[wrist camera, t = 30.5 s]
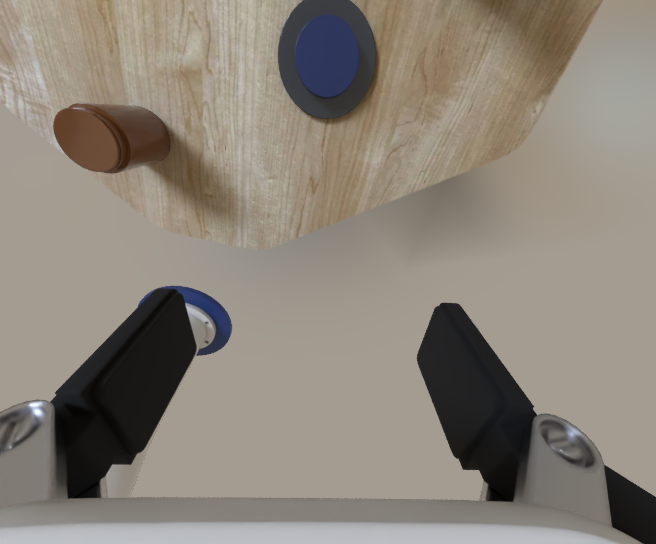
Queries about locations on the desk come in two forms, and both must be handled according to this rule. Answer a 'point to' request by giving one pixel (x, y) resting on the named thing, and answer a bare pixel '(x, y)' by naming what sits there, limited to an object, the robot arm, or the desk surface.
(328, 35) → the lid
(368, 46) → the coaster
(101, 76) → the desk surface
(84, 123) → the jar
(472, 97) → the desk surface
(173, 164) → the desk surface
